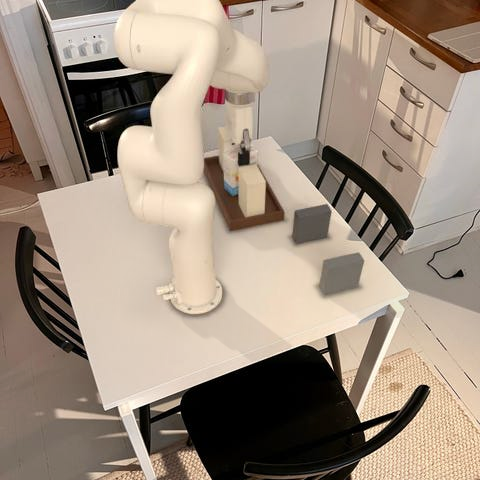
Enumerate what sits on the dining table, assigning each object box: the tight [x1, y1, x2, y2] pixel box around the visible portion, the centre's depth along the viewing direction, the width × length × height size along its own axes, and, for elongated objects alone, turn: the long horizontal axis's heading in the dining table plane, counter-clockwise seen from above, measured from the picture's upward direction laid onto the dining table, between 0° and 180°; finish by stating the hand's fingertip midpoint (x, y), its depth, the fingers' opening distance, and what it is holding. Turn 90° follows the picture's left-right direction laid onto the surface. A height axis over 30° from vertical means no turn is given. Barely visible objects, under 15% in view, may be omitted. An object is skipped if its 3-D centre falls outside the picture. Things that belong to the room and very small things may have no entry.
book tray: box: [203, 155, 285, 232], centre depth 146 cm, size 16×32×3 cm, turn 17°
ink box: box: [223, 139, 259, 196], centre depth 141 cm, size 8×5×15 cm, turn 123°
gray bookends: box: [291, 203, 365, 296], centre depth 126 cm, size 9×22×9 cm, turn 17°
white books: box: [217, 125, 266, 218], centre depth 142 cm, size 5×29×12 cm, turn 17°
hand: (240, 157), depth 139 cm, fingers closed on ink box, 6 cm apart
